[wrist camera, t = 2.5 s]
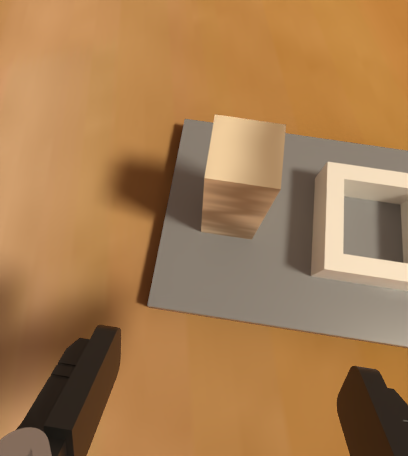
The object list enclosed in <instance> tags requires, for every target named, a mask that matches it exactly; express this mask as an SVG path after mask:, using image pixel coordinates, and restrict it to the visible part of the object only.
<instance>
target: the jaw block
mask: <svg viewBox="0 0 408 456" xmlns="http://www.w3.org/2000/svg"><path fill="white" fill-rule="evenodd" d="M285 131H286V125H284V124H277V123H270V122H264V121H257V120H250V119H243V118H236V117H229V116H222V115H215V117H214V123H213V129H212V135H211V141H210V147H209V153H208V159H207V165H206V171H205V177H204V192H203V208H202V224H201V232H204V233H211V234H218V235H224V236H231V237H238V238H244V239H251V240H252V238H253V236H254V235H255V233H256V231H257V230H258V228H259V226H260V224H261V223H262V221H263V219H264V217H265V216H266V214H267V212H268V210H269V209H270V207H271V205H272V204H273V202H274V200H275V198H276V197H277V195H278V193H279V191H280V190H281V180H282V168H283V156H284V143H285Z"/></svg>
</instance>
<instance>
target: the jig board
mask: <svg viewBox="0 0 408 456" xmlns="http://www.w3.org/2000/svg"><path fill="white" fill-rule="evenodd" d="M212 129H213V123H211V122H204V121H197V120H190V119H185V120H184V125H183V130H182V135H181V140H180V145H179V150H178V155H177V160H176V165H175V170H174V175H173V180H172V185H171V190H170V195H169V200H168V205H167V210H166V215H165V220H164V225H163V230H162V235H161V240H160V245H159V250H158V255H157V260H156V265H155V270H154V275H153V279H152V284H151V289H150V294H149V299H148V304H147V306H148V307H149V308H155V309H161V310H168V311H174V312H180V313H187V314H193V315H200V316H206V317H212V318H219V319H225V320H232V321H238V322H244V323H251V324H257V325H263V326H270V327H276V328H283V329H289V330H295V331H302V332H308V333H315V334H321V335H327V336H334V337H340V338H347V339H353V340H359V341H366V342H372V343H378V344H385V345H391V346H398V347H404V348H408V151H405V150H398V149H391V148H385V147H378V146H371V145H364V144H357V143H350V142H343V141H336V140H329V139H322V138H315V137H308V136H301V135H294V134H287V133H285V143H284V156H283V168H282V180H281V190H280V191H279V193H278V195H277V197H276V198H275V200H274V202H273V204H272V205H271V207H270V209H269V210H268V212H267V214H266V216H265V217H264V219H263V221H262V223H261V224H260V226H259V228H258V230H257V231H256V233H255V235H254V236H253V238H252V240H251V239H244V238H238V237H231V236H224V235H218V234H211V233H204V232H201V224H202V208H203V192H204V177H205V171H206V165H207V159H208V153H209V147H210V141H211V135H212Z"/></svg>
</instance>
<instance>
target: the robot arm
mask: <svg viewBox="0 0 408 456" xmlns="http://www.w3.org/2000/svg"><path fill="white" fill-rule="evenodd" d="M120 357H121V329H120V328H117V327H111V326H104V325H98V326H97V327H96V329H95V331H94V333H93V335H92V336H91V338H90V340H89V339H83V338H79V339H78V340H77V341H75V342H74V343H73V344H72V345H70V346H69V347H68V348H67V349H66V350H65V352H64V354H63V355H62V357H61V359H60V360H59V362H58V365H56V367H55V369H54V370H53V372H52V374H51V377H49V379H48V380H47V382H46V384H45V385H44V387H43V389H42V390H41V392H40V393H39V395H38V397H37V398H36V400H35V402H34V403H33V405H32V407H31V408H30V410H29V412H28V413H27V415H26V417H25V418H24V420H23V421H22V423H21V424H20V426H19V427H18V428H17V429H16V430H15V431H13V432H11V433H9V434H7V435H6V436H4V437H3V438H2V439H1V440H0V456H86V455H87V453H88V450H89V447H90V445H91V442H92V440H93V437H94V434H95V432H96V429H97V427H98V424H99V421H100V419H101V416H102V414H103V411H104V408H105V406H106V403H107V401H108V398H109V395H110V393H111V390H112V388H113V385H114V382H115V380H116V377H117V374H118V370H119V366H120ZM337 412H338V416H339V419H340V423H341V426H342V430H343V433H344V436H345V440H346V443H347V446H348V450H349V453H350V456H408V405H407V404H406V402H405V401H404V400H403V399H402V398H401V397H400V396H399V394H398V393H397V392H396V391H395V390H394V389H390V388H387V386H386V384H385V382H384V380H383V378H382V376H381V374H380V372H379V371H378V370H376V369H370V368H364V367H357V366H352V367H351V368H350V370H349V372H348V375H347V377H346V379H345V381H344V383H343V385H342V388H341V390H340V392H339V394H338V398H337Z"/></svg>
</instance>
